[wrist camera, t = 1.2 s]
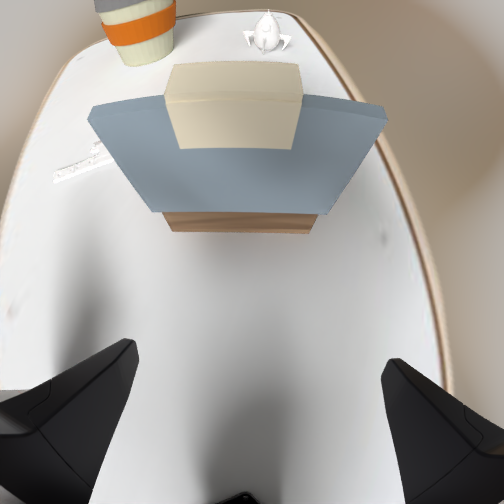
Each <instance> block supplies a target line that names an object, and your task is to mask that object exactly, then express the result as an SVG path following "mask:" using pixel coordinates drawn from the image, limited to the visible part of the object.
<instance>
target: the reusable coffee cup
mask: <svg viewBox="0 0 504 504" xmlns="http://www.w3.org/2000/svg"><path fill="white" fill-rule="evenodd" d="M94 3H95V10H96V12H97V13H99V15H100V17H101V18H102V21H103V22H102V27H103V29H104V31H105V33H106V35H107V37H108V39H109V41H110V43H111V44H112V45H114V46H115V47H116V49H117V51H118V53H119V55H120V57H121V59H122V61H123V63H124V64H125V65H126V66H130V67H137V66H143V65H147V64H150V63H153V62H156V61H158V60H160V59H162V58H164V57H166V56H167V55H169V54H170V53H171V52H172V50H173V27H174V25H175V21H176V1H175V0H94Z"/></svg>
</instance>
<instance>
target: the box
mask: <svg viewBox="0 0 504 504" xmlns="http://www.w3.org/2000/svg"><path fill="white" fill-rule="evenodd" d="M162 214H163V215H164V217H165V219H166V221H167V223H168V225H169V226H170V228H171V230H172V232H258V233H302V234H309V232H310V230H311V228H312V226H313V224H314V222H315V220H316V218H317V216H318V214H299V213H266V212H162Z"/></svg>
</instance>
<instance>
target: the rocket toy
mask: <svg viewBox="0 0 504 504" xmlns="http://www.w3.org/2000/svg"><path fill="white" fill-rule="evenodd" d="M272 15H273V14H272V13H271V12H269V9H268V12H265V13H264V16H262V17H261V18H260V20H259V21H258V23H257V24H256V26H255V29H254V30H253V31H243V34H244V36H245V39H246V41H247V43H248V44H249V46H250V42H249V36H253V37H254V41H255V44H256V46H257V47H259V48H260V49H261V50H262V52H263V55H264V51H271V50H272V49H273V48H275V47H276V46H277V45H278V43H279V40H284V46H283V48H282V50H283V49H284V48H285V47H286V46H287V44H288V43H289V41H290V40H291V36H288V35H282V34H281V33H280V28H279V25H278V23H277V21H276V19H275V18H274V17H273V16H272Z"/></svg>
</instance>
